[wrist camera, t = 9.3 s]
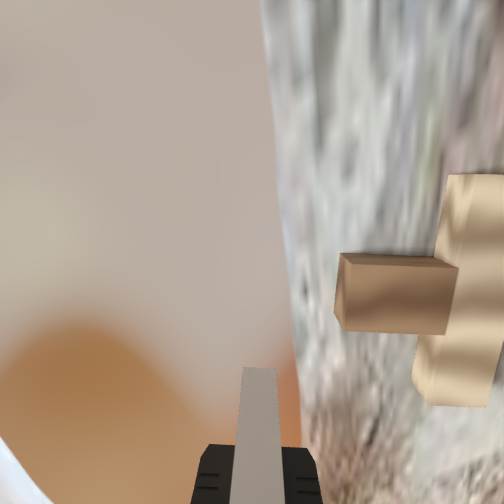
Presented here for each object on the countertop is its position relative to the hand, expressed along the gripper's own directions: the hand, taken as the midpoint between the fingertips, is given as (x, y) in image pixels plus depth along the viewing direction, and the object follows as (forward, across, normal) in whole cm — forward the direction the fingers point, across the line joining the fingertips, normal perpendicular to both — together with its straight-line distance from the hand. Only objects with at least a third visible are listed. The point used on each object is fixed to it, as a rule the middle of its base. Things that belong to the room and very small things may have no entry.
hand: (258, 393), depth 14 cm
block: (+20, +14, -2) cm, 24 cm away
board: (+20, +22, -2) cm, 29 cm away
